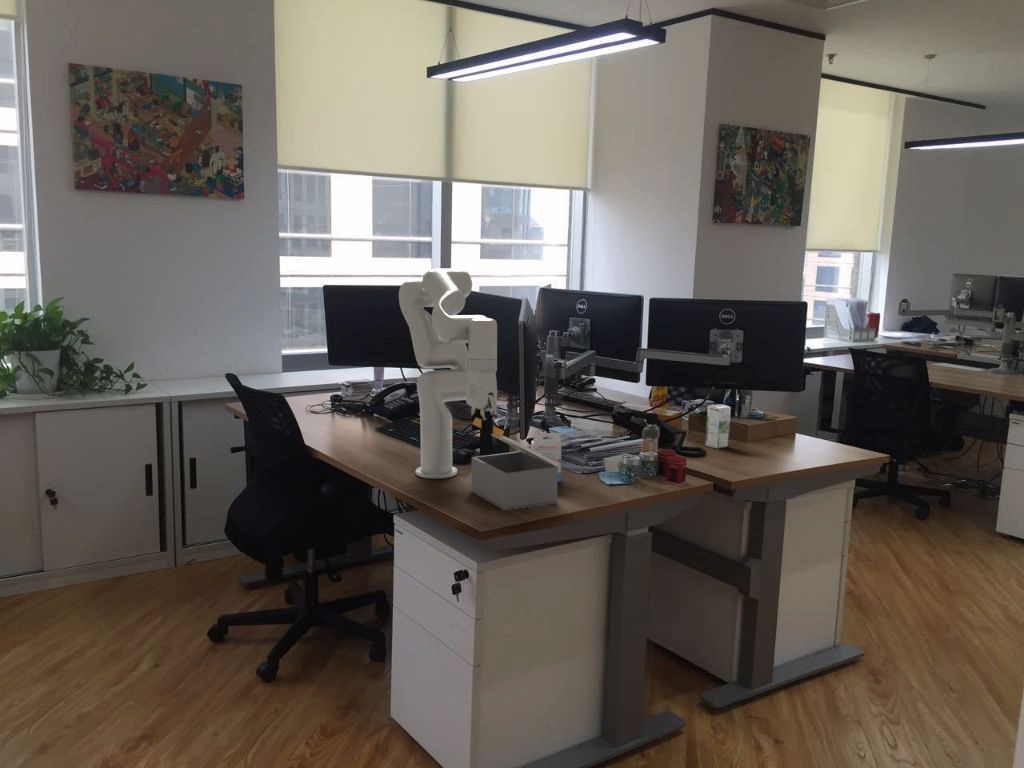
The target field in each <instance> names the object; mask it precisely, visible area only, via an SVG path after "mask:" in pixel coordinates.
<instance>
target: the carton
mask: <svg viewBox="0 0 1024 768" xmlns="http://www.w3.org/2000/svg"><path fill="white" fill-rule="evenodd" d="M470 480H471V481H470V483H471V493H473V494H474V493H475V495H476V494H477V495H476V496H478V497H479V498H481V497H482V499H483V498H484V499H483V500H484V501H487V502H488V501H489V502H488V503H490V502H491V503H490V504H492V503H493V504H494V505H493V504H492V505H493V506H495V505H496V506H495V507H497V506H498V507H497V508H499V507H500V508H501V510H502V509H503V510H502V511H504V510H505V512H508V511H507V510H510V511H512V510H511V509H516V510H519V509H518V508H522V509H526V508H525V507H529V508H533V506H535V507H540V506H548V505H552V504H557V503H558V483H559V482H558V467H556V466H554V465H552V464H550V463H547V462H545V461H543V460H540V459H538V458H536V457H533V456H531V455H530V454H527V453H525V452H523V451H521V450H519V451H511V452H505V453H504V452H503V453H495V454H489V455H479V456H472V457H471V479H470ZM500 508H499V509H500Z"/></svg>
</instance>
